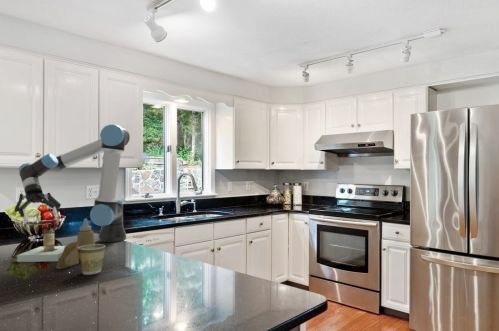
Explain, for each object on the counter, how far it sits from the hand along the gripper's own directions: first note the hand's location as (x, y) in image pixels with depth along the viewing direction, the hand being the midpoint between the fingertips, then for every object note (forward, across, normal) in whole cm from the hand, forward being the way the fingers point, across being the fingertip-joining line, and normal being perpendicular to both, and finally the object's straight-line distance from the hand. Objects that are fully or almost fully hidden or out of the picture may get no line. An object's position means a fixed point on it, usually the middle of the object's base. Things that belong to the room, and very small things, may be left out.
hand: (42, 219), depth 177 cm
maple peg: (+19, 0, -4) cm, 19 cm away
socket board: (+19, 0, -4) cm, 19 cm away
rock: (+36, 0, +12) cm, 38 cm away
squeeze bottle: (+30, -10, +7) cm, 33 cm away
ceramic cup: (+48, -4, +24) cm, 54 cm away
